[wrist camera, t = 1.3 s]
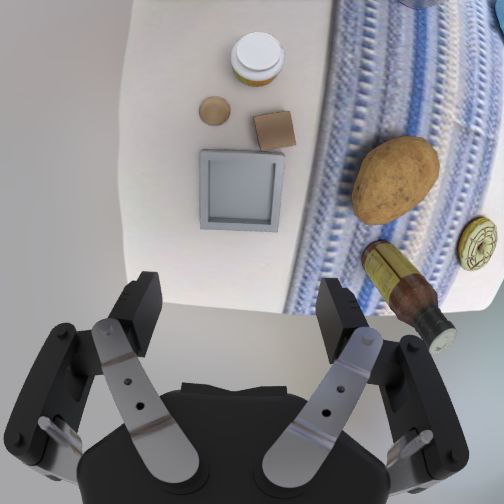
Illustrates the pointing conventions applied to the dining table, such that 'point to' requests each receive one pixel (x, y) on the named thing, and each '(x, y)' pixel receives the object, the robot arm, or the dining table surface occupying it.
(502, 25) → the decorative pot
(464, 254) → the decorated donut
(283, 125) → the walnut block
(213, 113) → the cork ball
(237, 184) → the tray
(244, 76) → the supplement bottle
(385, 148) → the potato
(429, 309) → the sauce bottle
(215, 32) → the dining table surface
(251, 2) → the dining table surface
